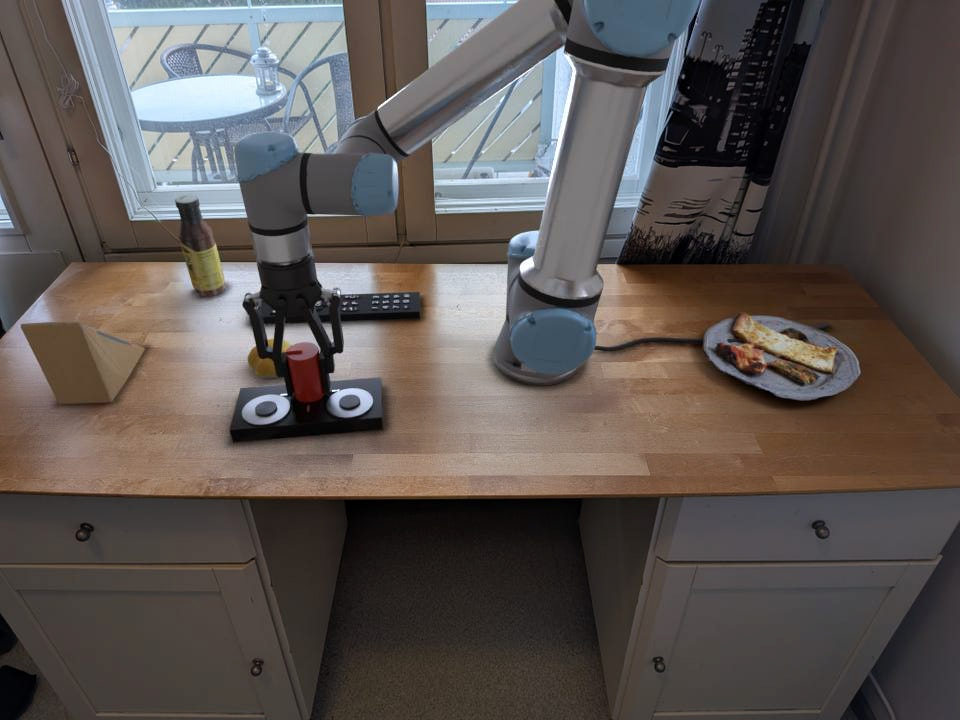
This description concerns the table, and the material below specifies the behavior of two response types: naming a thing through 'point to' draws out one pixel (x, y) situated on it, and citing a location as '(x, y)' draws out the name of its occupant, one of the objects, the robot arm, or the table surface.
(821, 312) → the table surface
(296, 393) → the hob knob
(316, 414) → the hob
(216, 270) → the sauce bottle
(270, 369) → the bread roll
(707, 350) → the food plate
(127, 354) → the sandwich container
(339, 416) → the burner rings
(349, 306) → the remote control
